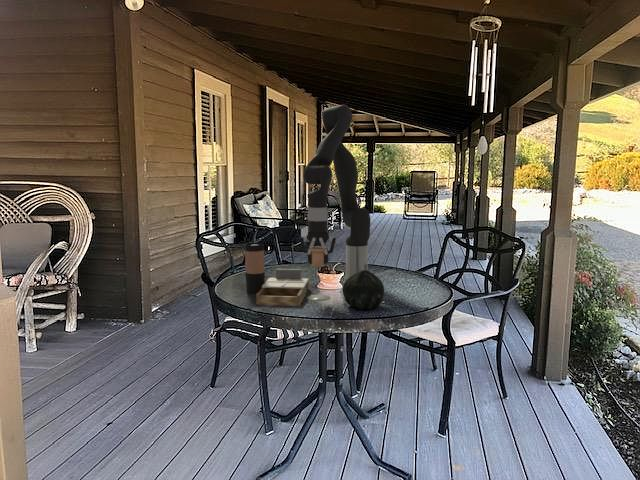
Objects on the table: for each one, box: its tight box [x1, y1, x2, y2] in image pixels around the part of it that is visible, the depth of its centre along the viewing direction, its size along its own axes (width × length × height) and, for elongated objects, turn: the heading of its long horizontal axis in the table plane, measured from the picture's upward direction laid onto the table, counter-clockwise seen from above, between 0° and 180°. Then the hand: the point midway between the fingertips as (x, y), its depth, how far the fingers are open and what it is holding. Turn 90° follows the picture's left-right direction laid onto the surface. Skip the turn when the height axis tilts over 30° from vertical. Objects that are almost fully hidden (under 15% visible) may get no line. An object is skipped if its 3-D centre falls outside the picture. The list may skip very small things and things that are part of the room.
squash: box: [342, 270, 385, 311], centre depth 182 cm, size 14×15×15 cm
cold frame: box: [255, 279, 310, 307], centre depth 195 cm, size 16×24×5 cm, turn 174°
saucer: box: [306, 294, 331, 302], centre depth 193 cm, size 9×9×1 cm
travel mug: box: [244, 242, 266, 294], centre depth 203 cm, size 8×8×20 cm
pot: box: [311, 246, 326, 268], centre depth 191 cm, size 6×6×7 cm
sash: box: [262, 268, 309, 289], centre depth 199 cm, size 16×14×4 cm
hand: (318, 263), depth 191 cm, fingers closed on pot, 5 cm apart
